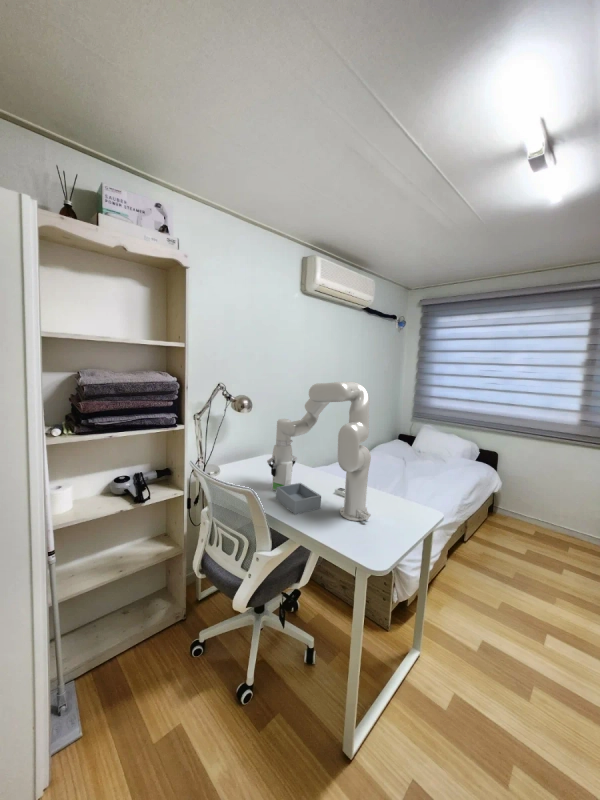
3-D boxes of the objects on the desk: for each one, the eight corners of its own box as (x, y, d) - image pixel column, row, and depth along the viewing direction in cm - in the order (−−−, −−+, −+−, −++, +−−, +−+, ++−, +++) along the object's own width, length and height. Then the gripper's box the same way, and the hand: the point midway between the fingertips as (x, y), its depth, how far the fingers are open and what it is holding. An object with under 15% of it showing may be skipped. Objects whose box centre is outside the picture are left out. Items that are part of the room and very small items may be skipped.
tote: (320, 508, 143) (321, 495, 142) (294, 514, 135) (295, 501, 135) (300, 493, 158) (300, 482, 157) (276, 498, 150) (276, 487, 150)
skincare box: (271, 489, 161) (272, 461, 160) (278, 485, 167) (279, 458, 166) (285, 493, 157) (286, 464, 156) (291, 489, 163) (292, 460, 162)
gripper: (293, 439, 168) (292, 470, 169) (265, 442, 158) (263, 474, 160) (301, 443, 161) (299, 474, 163) (271, 446, 152) (270, 479, 154)
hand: (281, 474), depth 162 cm, fingers closed on skincare box, 9 cm apart
